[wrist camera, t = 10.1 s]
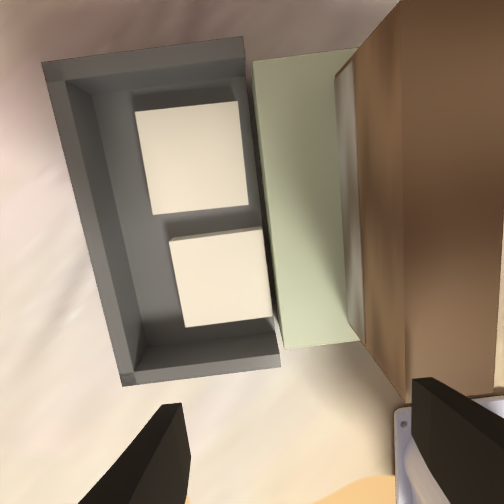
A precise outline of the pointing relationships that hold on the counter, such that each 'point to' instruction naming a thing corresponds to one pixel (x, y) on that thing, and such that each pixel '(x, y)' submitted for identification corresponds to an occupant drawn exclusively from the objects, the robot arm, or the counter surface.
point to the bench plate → (303, 194)
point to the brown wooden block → (425, 191)
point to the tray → (139, 205)
